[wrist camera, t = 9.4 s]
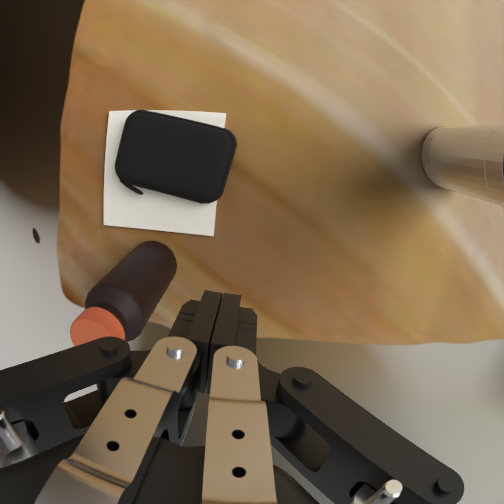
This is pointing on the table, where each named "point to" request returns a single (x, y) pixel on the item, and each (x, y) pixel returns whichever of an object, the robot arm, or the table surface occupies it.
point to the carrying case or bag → (174, 156)
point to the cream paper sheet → (151, 202)
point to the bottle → (126, 295)
